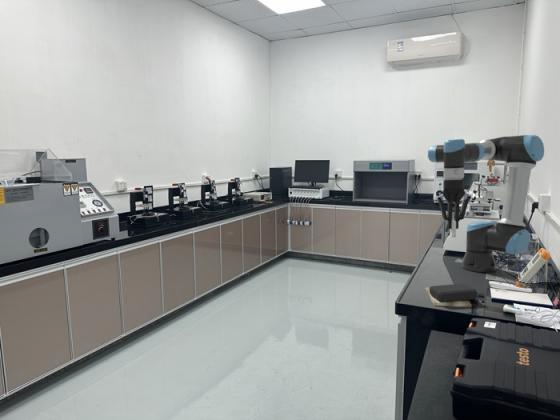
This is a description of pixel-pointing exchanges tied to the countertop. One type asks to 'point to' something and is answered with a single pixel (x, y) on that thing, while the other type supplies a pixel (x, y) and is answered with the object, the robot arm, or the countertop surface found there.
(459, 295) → the card reader
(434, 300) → the birch board
